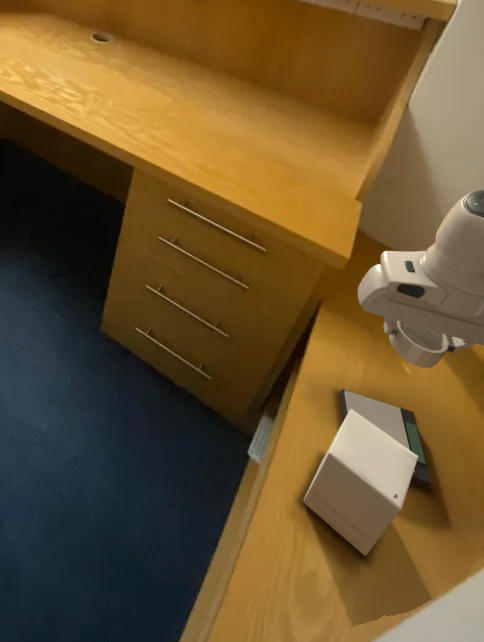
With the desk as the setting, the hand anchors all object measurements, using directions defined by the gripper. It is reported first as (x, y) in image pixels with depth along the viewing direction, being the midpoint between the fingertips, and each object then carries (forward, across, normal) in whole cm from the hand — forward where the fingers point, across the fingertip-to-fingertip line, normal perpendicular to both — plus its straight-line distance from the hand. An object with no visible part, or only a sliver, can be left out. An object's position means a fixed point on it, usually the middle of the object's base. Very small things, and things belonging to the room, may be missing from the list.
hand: (417, 339), depth 82 cm
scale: (+17, +2, +7) cm, 19 cm away
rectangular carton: (+18, +8, +20) cm, 28 cm away
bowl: (+3, 0, 0) cm, 3 cm away
